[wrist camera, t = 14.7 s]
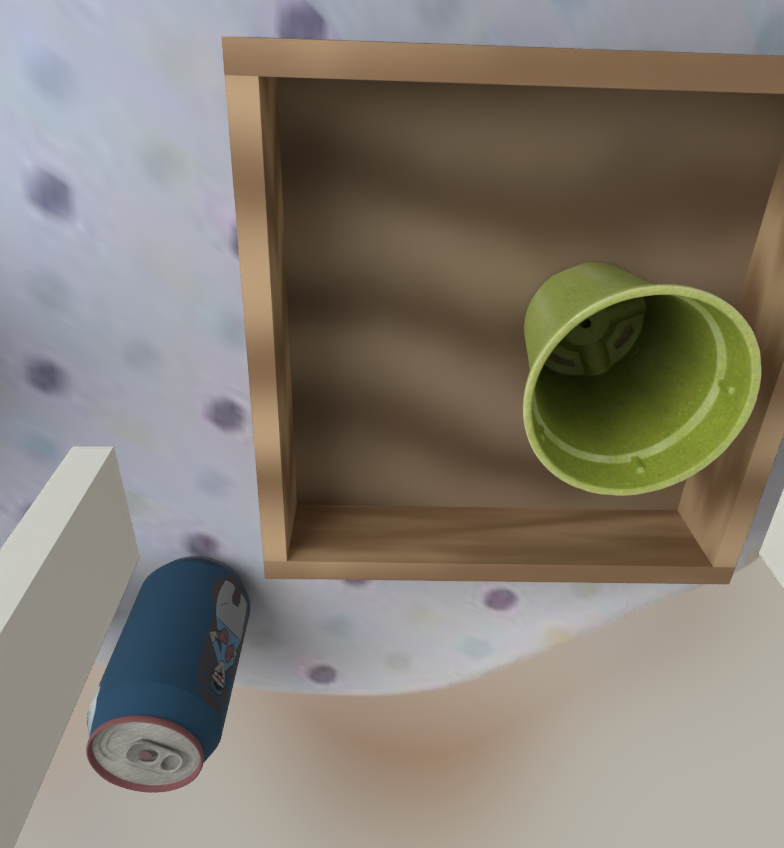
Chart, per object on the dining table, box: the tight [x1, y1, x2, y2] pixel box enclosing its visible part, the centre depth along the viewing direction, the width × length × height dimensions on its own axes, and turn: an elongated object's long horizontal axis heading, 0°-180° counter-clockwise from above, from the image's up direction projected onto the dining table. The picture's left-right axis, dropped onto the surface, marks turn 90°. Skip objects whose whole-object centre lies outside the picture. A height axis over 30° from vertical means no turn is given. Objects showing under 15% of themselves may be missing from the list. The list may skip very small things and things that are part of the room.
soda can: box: [86, 557, 250, 792], centre depth 39 cm, size 7×7×12 cm
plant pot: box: [523, 262, 761, 496], centre depth 31 cm, size 9×9×9 cm
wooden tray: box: [222, 37, 784, 584], centre depth 33 cm, size 25×25×6 cm
